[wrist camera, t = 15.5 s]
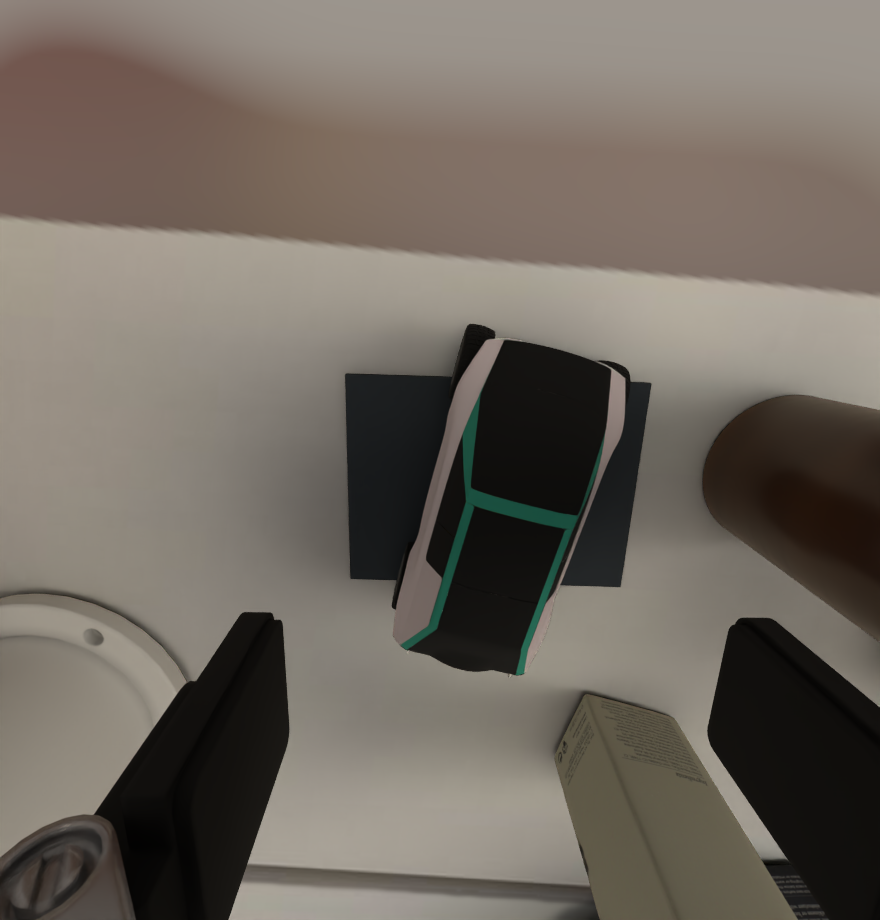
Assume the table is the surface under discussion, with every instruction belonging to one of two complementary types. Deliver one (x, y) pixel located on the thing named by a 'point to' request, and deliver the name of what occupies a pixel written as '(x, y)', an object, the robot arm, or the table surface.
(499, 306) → the table surface
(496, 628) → the toy car
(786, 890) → the small box
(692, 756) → the box
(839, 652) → the table surface
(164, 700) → the robot arm
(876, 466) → the pepper mill
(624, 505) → the mat
